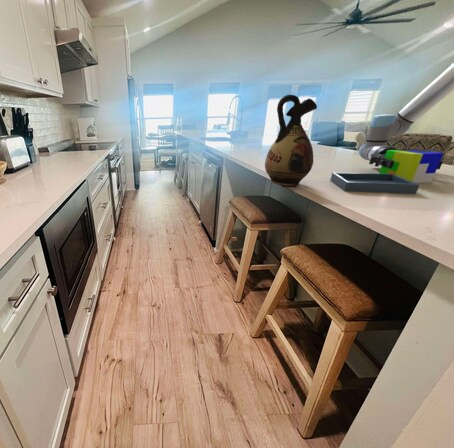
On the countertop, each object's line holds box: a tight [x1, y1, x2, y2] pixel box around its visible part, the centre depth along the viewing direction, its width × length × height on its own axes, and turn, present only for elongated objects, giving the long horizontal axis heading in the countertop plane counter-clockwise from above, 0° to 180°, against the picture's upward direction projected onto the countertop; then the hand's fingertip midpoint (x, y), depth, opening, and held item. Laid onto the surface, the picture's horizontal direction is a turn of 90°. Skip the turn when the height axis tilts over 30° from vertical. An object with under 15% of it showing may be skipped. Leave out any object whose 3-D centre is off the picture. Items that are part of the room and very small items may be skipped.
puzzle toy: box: [378, 148, 444, 184], centre depth 87 cm, size 10×10×10 cm
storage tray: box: [330, 172, 420, 195], centre depth 82 cm, size 19×15×3 cm
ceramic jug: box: [259, 94, 318, 187], centre depth 85 cm, size 17×15×30 cm
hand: (415, 165), depth 83 cm, fingers closed on puzzle toy, 12 cm apart
